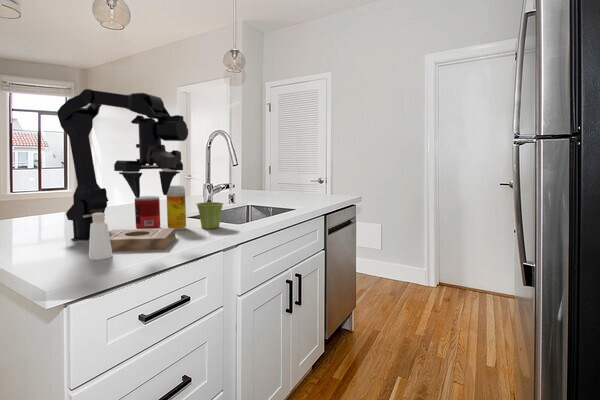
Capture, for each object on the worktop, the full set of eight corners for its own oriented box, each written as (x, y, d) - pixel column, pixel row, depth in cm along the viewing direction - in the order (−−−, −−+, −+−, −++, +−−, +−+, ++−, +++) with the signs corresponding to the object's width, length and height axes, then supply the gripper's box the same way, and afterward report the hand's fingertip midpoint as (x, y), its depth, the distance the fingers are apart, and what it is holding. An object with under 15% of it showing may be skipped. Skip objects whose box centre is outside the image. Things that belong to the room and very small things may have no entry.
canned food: (165, 227, 124) (164, 196, 123) (148, 231, 117) (147, 198, 116) (148, 225, 127) (146, 195, 126) (130, 229, 119) (129, 197, 118)
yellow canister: (180, 231, 118) (178, 186, 116) (164, 230, 119) (162, 186, 117) (189, 227, 124) (188, 185, 122) (173, 226, 125) (172, 185, 123)
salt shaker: (92, 254, 88) (89, 211, 87) (115, 253, 90) (113, 211, 88) (84, 260, 83) (81, 215, 82) (109, 259, 84) (107, 214, 83)
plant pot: (199, 225, 129) (198, 201, 128) (225, 224, 130) (224, 201, 129) (194, 230, 119) (193, 205, 118) (222, 230, 120) (222, 205, 119)
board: (93, 251, 92) (92, 239, 91) (113, 239, 105) (112, 229, 105) (165, 249, 94) (164, 237, 94) (175, 237, 108) (174, 227, 108)
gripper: (140, 138, 85) (142, 202, 87) (196, 142, 101) (197, 195, 103) (111, 138, 90) (114, 198, 92) (169, 142, 107) (170, 193, 108)
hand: (151, 196), depth 99 cm, fingers open, 9 cm apart
